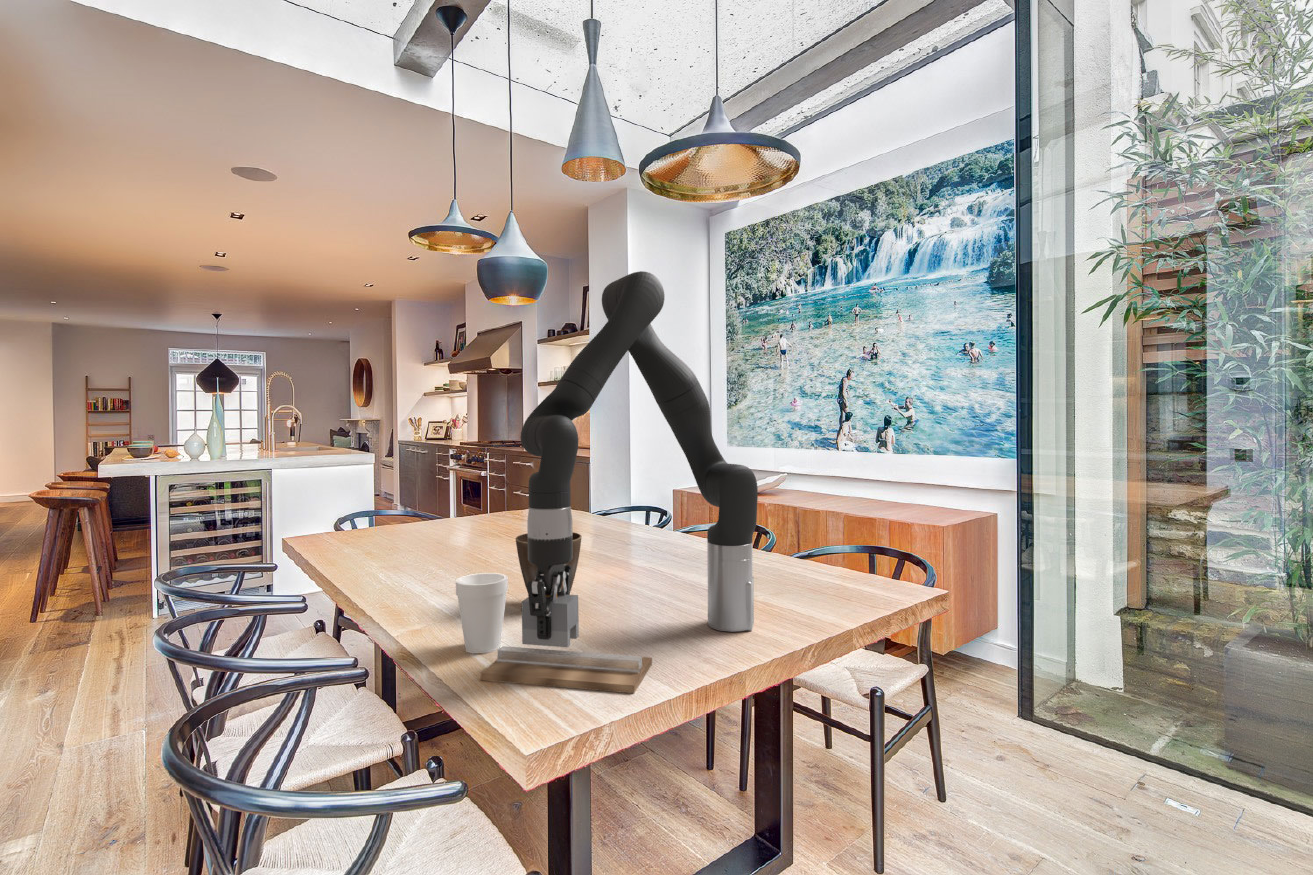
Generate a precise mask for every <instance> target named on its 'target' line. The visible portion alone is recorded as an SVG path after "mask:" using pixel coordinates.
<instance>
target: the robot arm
mask: <svg viewBox="0 0 1313 875" xmlns="http://www.w3.org/2000/svg"><path fill="white" fill-rule="evenodd" d="M664 304H665V290H664V287H663V285H662V282H661V281H660V279H659V278H658V277H657V276H656V275H654V274H653V273H651V272H648V271H635V272H632V273H629V274H627V275H624V276H622V277H620V278H618V279H616V280H614V281H612V282H610V283H609V284H607V286H605V288H604V289H603V292H602V294H601V305H602V310H603V313H604V315H605V317H606V318H607V321H606V323H605V324H604V325H603V327H601V329H600V331H598V333H597V334H596V335H595V336H594V337H593V338H592V339H591V340H590V341H589V342H588V343H587V344H586V345H585V346H584V347H583V348H582V349H581V351H579V353H578V354H577V355H576V356H575V357H574V359H573V360H572V362H570V364H569V365H568V367H567V369H566V370H565V371H564V372H563V375H562V376H561V377H560V379H559V380H558V383H557V384H556V386H555V388H554V389H553V390H552V391H551V392H550V393H549V394H548V395H546V397H545V398H544V399H543V400H542V401H541V402H540V403H539V404H537V406H536V407H535V408H534V410H532V412H531V413H530V414H529V415H528V416H527V418H526V420H525V421H524V423H523V425H522V428H521V432H520V443H521V446H522V448H523V449H524V450H525V451H526V452H527V453H528V454H530V455H532V456H536V457H540V463H539V468H538V471H536V472H534V473H533V474H531V475H530V476H529V480H528V512H527V513H528V515H527V519H526V520H527V521H526V522H527V524H526V525H527V530H526V531H527V532H526V533H528V561H529V562H530V563H532V564H535V565H536V566H537V571H536V577H535V581H528V584H527V587H528V592H527V596H528V597H529V607H530V615H531V616H537V637H538V639H545V640H548V639H549V638H551V611H552V607H551V604H552V603H554V602H555V601H556V595H571V591H570V583H571V565H567V564H565V563H568V562H570V561H571V560H572V558H573V530H574V529H573V516H572V507H571V505H572V502H571V500H572V497H571V496H572V495H571V480H572V476H573V473H574V468H575V466H576V460H577V455H578V450H579V449H578V448H579V434H578V430H577V427H576V425H575V423H574V420H575V419H576V418H578V417H582V416H584V415H586V414H587V413H588V412H589V411H590V409H591V408H592V406H593V405H594V403H595V401H596V400H597V398H598V396H599V395H600V393H601V392H602V390H603V388H604V386H605V385H606V383H607V381H608V380H609V378H610V377H611V375H612V374H613V372H614V371H615V370H616V367H618V365H619V363H620V362H621V360H622V359H623V358H624V356H625V355H626V354H627V352H628V353H629V354H630V356H631V357H632V360H633V361H634V362H635V364H636V366H637V368H638V370H639V372H640V373H641V376H642V377H643V379H644V380H645V382H646V384H647V386H648V388H649V390H650V391H651V395H653V396H652V397H653V398H654V400H655V402H656V404H657V405H658V408H659V410H660V411H661V414H662V415H663V417H664V420H666V422H667V424H668V426H669V427H670V430H671V432H672V433H673V435H674V437H675V439H676V441H677V442H678V445H679V446H680V448H681V450H682V451H683V454H684V455H685V458H686V461H687V462H688V465H689V467H690V469H691V472H692V474H693V477H694V480H695V483H696V486H697V487H698V489H699V491H700V493H701V496H702V497H703V498H704V500H705V501H706V502H707V503H708V504H710V505H712V506H713V507H716V508H718V518H717V519H718V520H717V522H716V523H715V524H713V525H711V526H709V527H708V528H707V531H706V532H707V534H706V538H707V540H706V543H707V546H706V548H707V549H706V550H707V552H706V553H707V561H706V562H707V626H708V627H709V628H711V629H714V630H717V631H720V632H721V631H722V632H729V633H730V632H733V633H734V632H744V631H753V627H754V622H755V608H754V607H755V602H754V601H755V598H754V597H755V583H754V582H755V581H754V580H755V579H754V576H753V571H754V569H753V565H754V564H753V560H754V559H753V556H754V555H753V540H754V539H753V536H754V533H755V530H756V528H757V520H758V519H757V518H758V517H757V516H758V500H759V499H758V498H759V496H758V495H759V494H758V493H759V489H758V482H757V479H756V475H755V473H754V471H753V470H752V469H751V468H749V467H748V466H746V465H743V464H735V463H728V462H727V461H726V460H725V459H724V457H723V455H722V454H721V452H720V450H719V448H718V446H717V444H716V442H715V440H714V437H713V435H712V434H713V433H712V418H711V417H712V416H711V408H710V404H709V401H708V397H707V395H706V394H705V391H704V389H703V387H702V386H701V384H700V381H699V380H698V378H697V376H696V374H695V373H694V371H693V370H692V369H691V368H690V367H689V366H688V364H686V363H685V362H684V361H683V360H681V358H680V357H679V356H677V355H676V354H675V353H673V351H671V349H669V348H668V347H667V345H665V344H664V343H663V342H662V340H661V339H660V338H659V336H658V334H657V333H656V331H655V330H654V328H653V325H652V324H651V323H652V322H653V321H654V319H656V317H657V316H658V315H659V314H660V313H661V311H662V309H663V307H664ZM560 587H561V588H560ZM546 595H551V596H550V597H546ZM528 597H527V598H528ZM546 602H547V606H546ZM535 603H536V607H535ZM540 605H541V609H540Z"/></svg>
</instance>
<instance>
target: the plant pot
mask: <svg viewBox="0 0 1313 875" xmlns="http://www.w3.org/2000/svg"><path fill="white" fill-rule="evenodd" d="M582 537H583V536H582V535H581V534H580V533H578V532H573V558H572V560H571V561H570V562H568V563H565V564H567V565H571V583H570V592H571V591H572V587H573V584H574V581H575V578H576V577H575V576H576V573H577V569H578V564H579V558H580V554H581V553H580V552H581V547H582V546H581V545H582ZM515 544H516V551H517V552H516V553H517V556H518V558H517V559H518V563H519V568H520V571H521V576H522V578H523V583H524V586H525V589H526V591H527V593H528V587H527V584H528V581H535V577H536V571H537V566H536V565H535V564H532V563H530V562H529V561H528V532H526V533H523V534H520V535H517V536H516V537H515ZM560 588H561V587H560Z"/></svg>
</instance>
